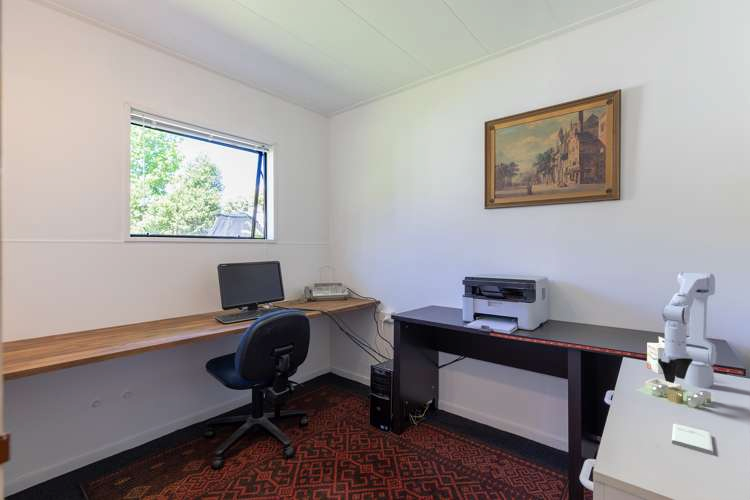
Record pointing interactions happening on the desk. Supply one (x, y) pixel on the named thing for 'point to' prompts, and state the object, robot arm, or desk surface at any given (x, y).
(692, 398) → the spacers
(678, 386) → the tray
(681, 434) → the external hard drive
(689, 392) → the mat
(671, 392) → the nut
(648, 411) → the desk surface
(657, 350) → the ink cartridge box
